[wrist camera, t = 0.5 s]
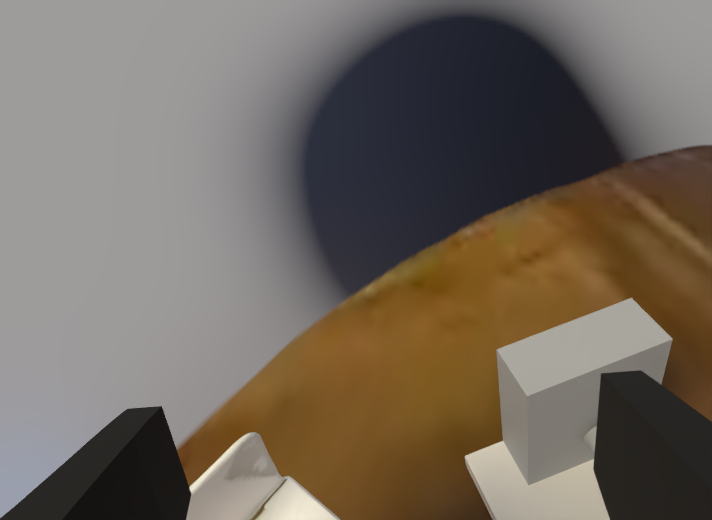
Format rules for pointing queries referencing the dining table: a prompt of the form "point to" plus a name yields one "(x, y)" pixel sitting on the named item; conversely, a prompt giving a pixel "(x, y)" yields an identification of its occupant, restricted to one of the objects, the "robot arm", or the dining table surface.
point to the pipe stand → (560, 413)
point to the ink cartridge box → (251, 489)
